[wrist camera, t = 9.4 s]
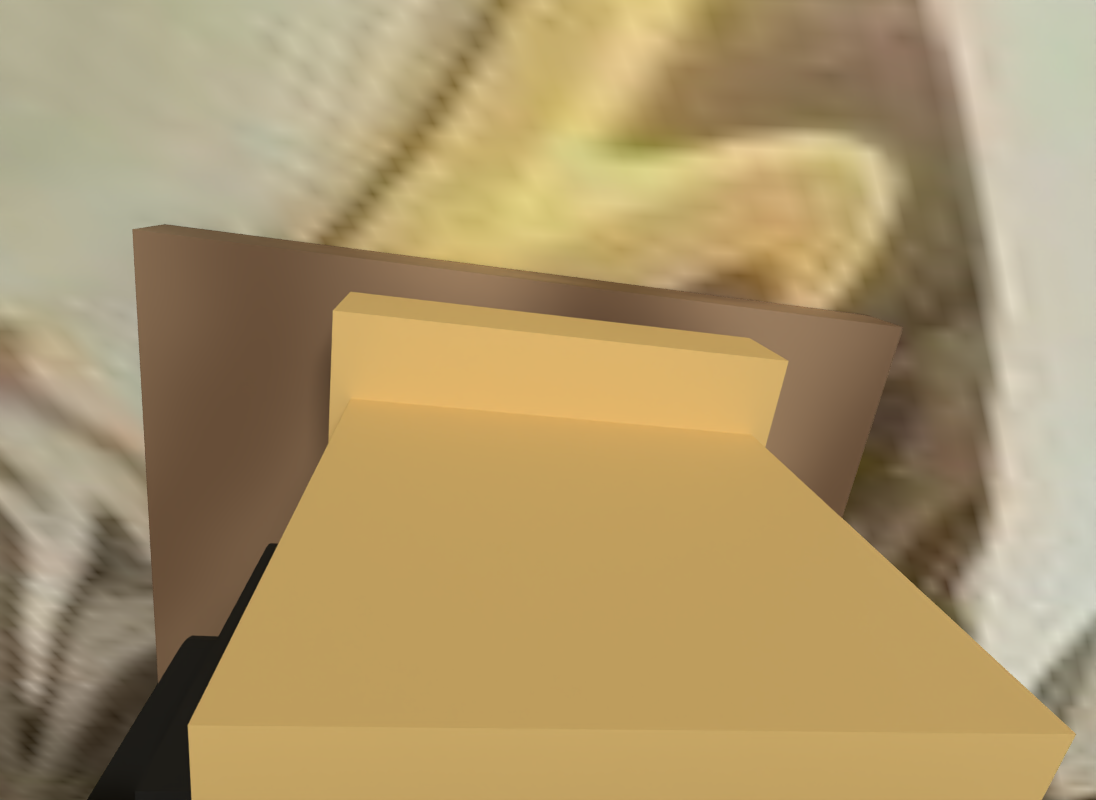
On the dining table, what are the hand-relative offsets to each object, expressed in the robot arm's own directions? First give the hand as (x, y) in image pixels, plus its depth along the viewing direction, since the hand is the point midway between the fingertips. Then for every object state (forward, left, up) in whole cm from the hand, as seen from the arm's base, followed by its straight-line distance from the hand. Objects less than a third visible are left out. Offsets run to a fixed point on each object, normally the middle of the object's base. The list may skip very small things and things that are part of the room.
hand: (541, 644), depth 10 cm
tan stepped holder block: (0, +3, -3) cm, 4 cm away
